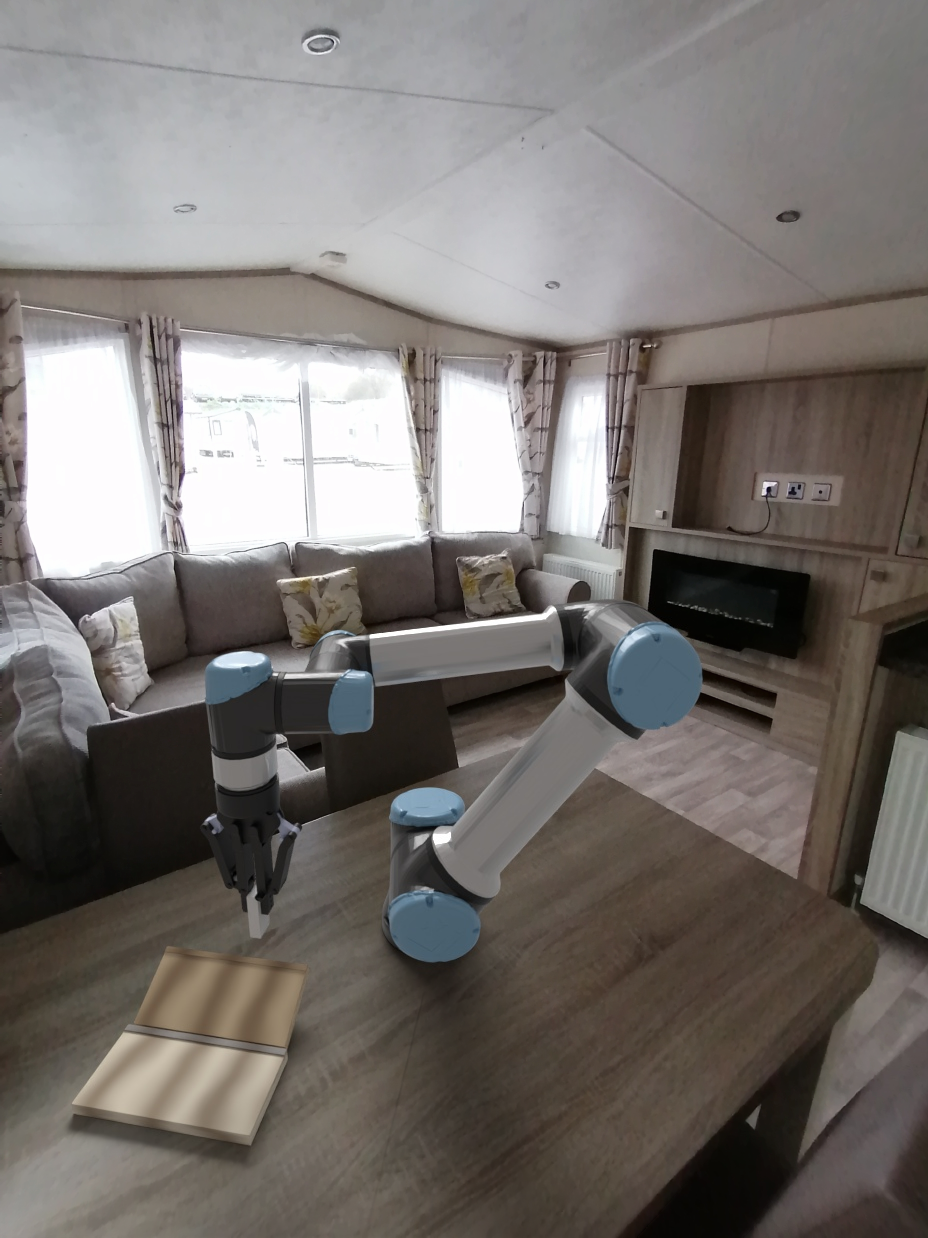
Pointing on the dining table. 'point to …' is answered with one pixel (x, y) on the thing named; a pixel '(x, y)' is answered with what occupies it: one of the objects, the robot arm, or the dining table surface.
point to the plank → (225, 996)
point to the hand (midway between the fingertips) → (260, 930)
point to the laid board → (184, 1084)
